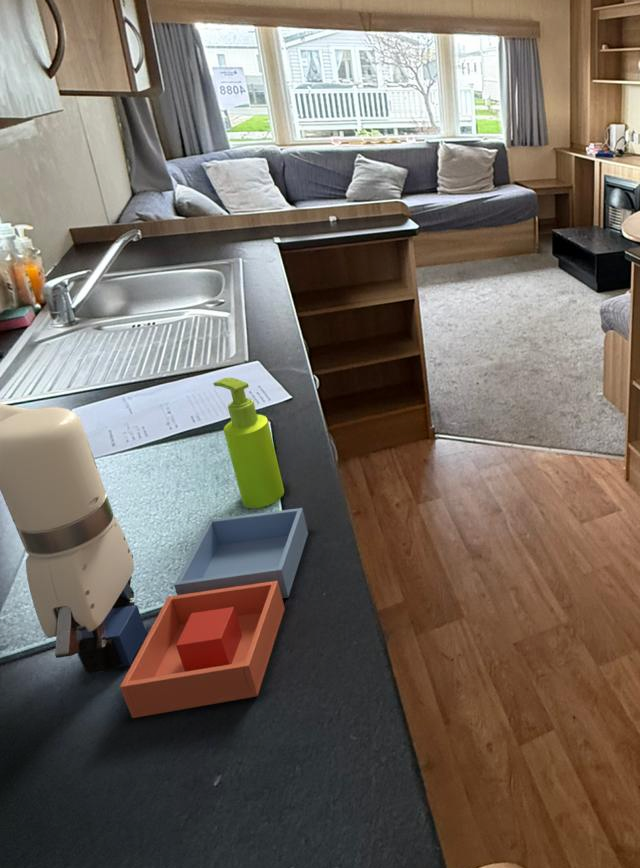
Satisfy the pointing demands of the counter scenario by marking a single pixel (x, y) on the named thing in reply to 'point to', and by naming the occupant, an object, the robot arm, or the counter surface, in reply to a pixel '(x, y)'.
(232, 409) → the soap dispenser
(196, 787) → the counter surface
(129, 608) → the blue block
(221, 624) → the red block
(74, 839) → the counter surface
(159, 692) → the red bin
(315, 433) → the counter surface
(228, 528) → the blue bin
